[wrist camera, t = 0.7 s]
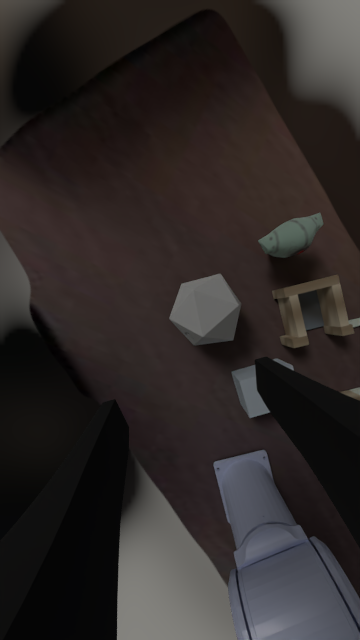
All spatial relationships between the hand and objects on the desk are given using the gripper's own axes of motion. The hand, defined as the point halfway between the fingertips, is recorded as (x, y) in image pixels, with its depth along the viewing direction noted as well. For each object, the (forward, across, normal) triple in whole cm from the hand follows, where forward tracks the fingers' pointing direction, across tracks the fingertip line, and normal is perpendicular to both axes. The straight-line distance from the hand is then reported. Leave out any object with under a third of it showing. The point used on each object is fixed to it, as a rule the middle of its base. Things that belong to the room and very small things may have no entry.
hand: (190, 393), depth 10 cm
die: (+18, -5, +4) cm, 19 cm away
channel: (+14, -19, +11) cm, 26 cm away
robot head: (+20, -17, -2) cm, 26 cm away
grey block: (+13, -10, +15) cm, 22 cm away
